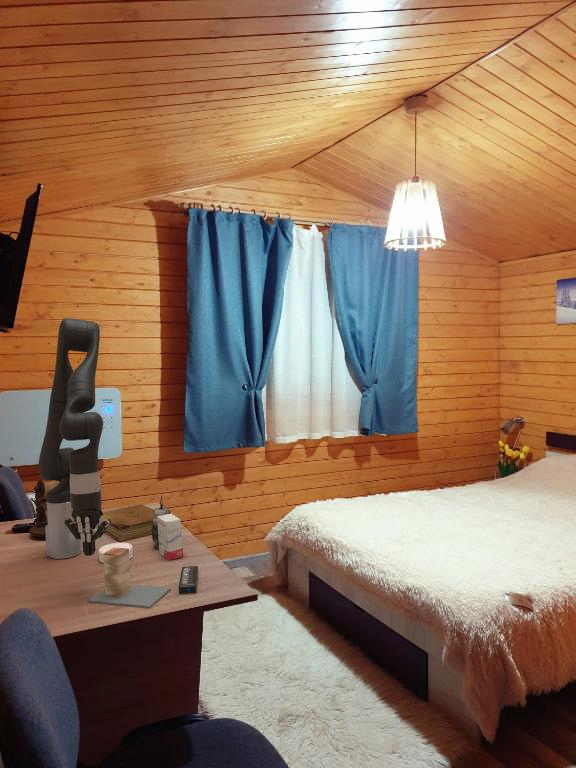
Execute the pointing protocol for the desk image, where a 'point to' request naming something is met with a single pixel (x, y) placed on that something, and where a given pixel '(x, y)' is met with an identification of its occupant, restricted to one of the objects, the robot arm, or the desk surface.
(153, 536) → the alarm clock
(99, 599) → the felt mat
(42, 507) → the brown tall piece
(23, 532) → the desk surface
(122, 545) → the coaster
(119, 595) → the birch block
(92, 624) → the desk surface
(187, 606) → the desk surface
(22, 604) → the desk surface
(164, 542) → the ink box
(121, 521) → the diary
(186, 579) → the multiport hub
